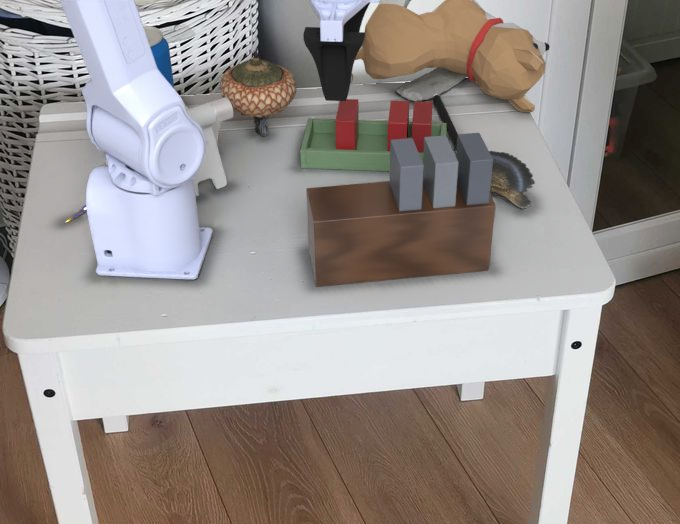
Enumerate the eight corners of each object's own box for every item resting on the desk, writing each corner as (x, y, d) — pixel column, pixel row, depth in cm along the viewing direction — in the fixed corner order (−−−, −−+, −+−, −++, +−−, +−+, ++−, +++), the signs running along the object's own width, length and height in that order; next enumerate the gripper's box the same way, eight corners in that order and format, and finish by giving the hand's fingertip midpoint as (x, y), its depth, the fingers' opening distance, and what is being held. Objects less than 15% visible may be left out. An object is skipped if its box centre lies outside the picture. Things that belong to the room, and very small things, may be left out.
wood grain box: (316, 287, 90) (313, 221, 85) (308, 251, 94) (306, 187, 89) (489, 270, 91) (495, 205, 87) (474, 236, 95) (479, 172, 91)
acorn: (218, 123, 113) (209, 38, 107) (289, 113, 115) (284, 29, 108) (231, 158, 107) (223, 71, 101) (306, 147, 109) (302, 60, 102)
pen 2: (468, 178, 103) (468, 169, 102) (429, 95, 117) (429, 86, 117) (476, 177, 103) (477, 168, 102) (436, 94, 118) (437, 86, 117)
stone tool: (389, 100, 117) (424, 106, 114) (388, 88, 116) (424, 94, 114) (451, 61, 126) (486, 66, 123) (451, 50, 125) (486, 55, 123)
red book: (336, 159, 106) (335, 120, 103) (340, 136, 109) (340, 98, 106) (354, 159, 106) (354, 121, 103) (358, 136, 109) (358, 99, 106)
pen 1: (66, 227, 98) (63, 222, 98) (63, 226, 98) (60, 220, 98) (176, 152, 103) (173, 146, 102) (173, 151, 103) (170, 145, 103)
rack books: (387, 161, 105) (387, 122, 102) (389, 137, 109) (390, 100, 106) (429, 162, 105) (431, 124, 102) (430, 139, 109) (432, 101, 106)
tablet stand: (208, 149, 108) (200, 77, 103) (244, 180, 103) (238, 106, 98) (136, 173, 105) (124, 100, 99) (170, 206, 100) (159, 131, 94)
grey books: (399, 211, 86) (400, 167, 83) (389, 183, 90) (390, 139, 87) (489, 203, 87) (493, 159, 84) (475, 175, 90) (479, 132, 88)
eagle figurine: (443, 222, 95) (538, 207, 94) (433, 147, 94) (528, 131, 93) (445, 221, 103) (533, 207, 101) (435, 151, 102) (523, 137, 101)
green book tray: (300, 168, 106) (300, 150, 104) (308, 135, 111) (308, 117, 110) (444, 173, 104) (445, 155, 103) (445, 139, 110) (446, 122, 108)
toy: (466, 11, 126) (577, 96, 117) (313, 88, 118) (419, 186, 109) (473, -61, 118) (593, 24, 109) (310, 17, 110) (424, 116, 101)
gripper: (376, -28, 85) (374, 117, 94) (386, -82, 96) (383, 52, 105) (295, -30, 86) (300, 114, 94) (313, -84, 96) (317, 50, 105)
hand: (339, 81), depth 100 cm, fingers open, 7 cm apart
